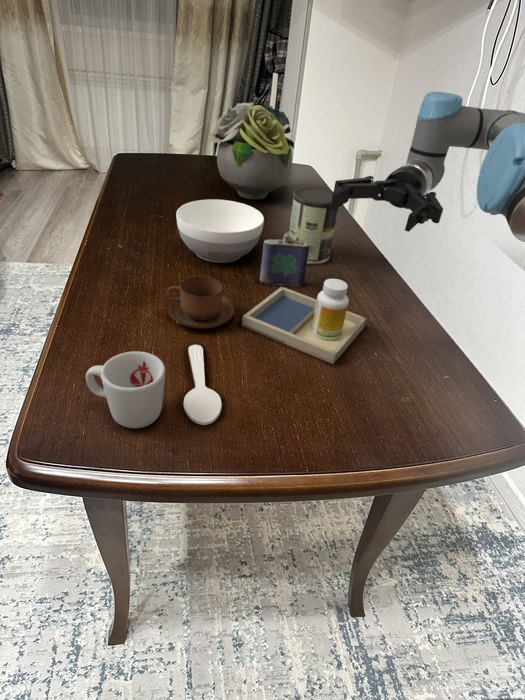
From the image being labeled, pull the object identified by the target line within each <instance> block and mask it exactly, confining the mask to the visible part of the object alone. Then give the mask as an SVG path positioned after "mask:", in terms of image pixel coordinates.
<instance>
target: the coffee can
mask: <svg viewBox="0 0 525 700" xmlns="http://www.w3.org/2000/svg"><path fill="white" fill-rule="evenodd" d="M333 192H334V190H333V191H332V190H329V189H326V188H321V187H313V186H305V187H299V188H296V189H295V190H294V191H293V194H292V196H293V199H292V207H291V214H290V223H289V230H288V232H290V237H291V238H292V239H293V240H297V241H298V240H301V241H302V242H306V243H307V244H309V253H308V259H307V265H320V264H324V263H326V262H328V261H329V260H330V259H331V258H330V257H331V250H332V245H333V239H334V233H335V230H336V229H335V228H336V222H337V218H338V212H339V208H340V207H338V208H337V209H335V210H332V209H330V208H331V202H332V197H333ZM299 242H300V241H299Z"/></svg>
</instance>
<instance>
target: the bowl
mask: <svg viewBox="0 0 525 700" xmlns="http://www.w3.org/2000/svg"><path fill="white" fill-rule="evenodd" d="M264 224H265V218H264V215H263V213H262V212H261V211H260V210H259V209H256V208H255V207H253V206H251V205H248V204H246V203H242V202H237V201H234V200H227V199H200V200H193V201H190V202H187V203H184V204H183V205H181V206H180V207H179V208H178V209H177V210H176V226H177V229H178V232H179V236H180V238H181V240H182V241H183V243H184V244H185V246H186V247H187V248H188V249H189V250H190V251H191V252H193V253H195V255H196V257H198V258H200V259H202V260H204V261H207V262H211V263H219V264H220V263H221V264H226V263H232V262H236V261H238V260H240V259H241V258H242V257H243V256H245V255H247V254H249V253H250V252H251V251H252V250H253V249H254V248H255V247H256V245H257V244H258V243H259V240H260V237H261V234H262V232H263V229H264Z"/></svg>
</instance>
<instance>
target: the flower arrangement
mask: <svg viewBox="0 0 525 700" xmlns="http://www.w3.org/2000/svg"><path fill="white" fill-rule="evenodd" d="M287 125H288V126H287ZM286 126H287V127H286ZM290 126H291V124H290V120H289V118H288V117H287V115H286V113H285V112H284V111H283V110H282V111H280V110H278V109H275V108H274V106H272V105H270V106H266V105H265V104H263V103H261V102H259V103H254V101H250V102H241V103H239V102H238V103H237V104H236V105H235V106H234V107H232V106H228V108H227V110H226V112H225V113H224V114H223V115H222V116H221V117H220V118H218V119H217V121H216V124H215V127H214V129H213V131H212V133H210V135H209V138H208V140H209V141H210V142H212V143H213V159H214V160H215V159H216V165H217V169H218V172H219V175H220V176H221V178H222V179H223V181H225V182H226V183H227V184H228V186H230V187H232V188H234V189H235V190H236V193H237V194H238V195H239V197H241V198H243V199H247V200H263V199H265V198H267V196H268V194H269V193H270V192H273V191H275V190H277V189H279V188H280V187H282V186H283V185H285V184H286V183H287V181H288V179H289V177H290V174H291V170H292V164H293V150H294V149H295V142H294V140H292V138H289V137H287V136H286V134H290V133H291V132H292V131H291V127H290ZM285 127H286V128H285ZM216 153H217V154H216Z"/></svg>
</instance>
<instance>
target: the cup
mask: <svg viewBox="0 0 525 700" xmlns="http://www.w3.org/2000/svg"><path fill="white" fill-rule="evenodd" d="M95 376H98V377H99V378H100V379H101V382H102V386H103V387H101V386H100V385H99V384H98V383H97V381H96V378H95ZM165 380H166V367H165V364H164V362H163V361H162V359H160V358H159V357H158V356H156V355H155V354H152V353H150V352H146V351H126V352H122V353H119V354H116V355H114V356H112V357H110V358H109V359H107V361H106V362H105V363H104V364H103V365H94V366H91V367H90V368H88V370H87V371H86V373H85V382H86V386H87V388H88V389H89V391H90V392H91V393H92V394H93V395H95V396H98V397H102V398H105V399H106V401H107V404H108V408H109V411H110V414H111V416H112V418H113V420H114V421H115V422H116V423H117V424H118V425H120V426H122V427H124V428H127V429H141V428H145V427H148V426H149V425H151V424H153V423H154V422H156V420H158V418H159V416H160V415H161V412H162V407H163V402H164V401H163V399H164V392H165V391H164V389H165Z"/></svg>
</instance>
